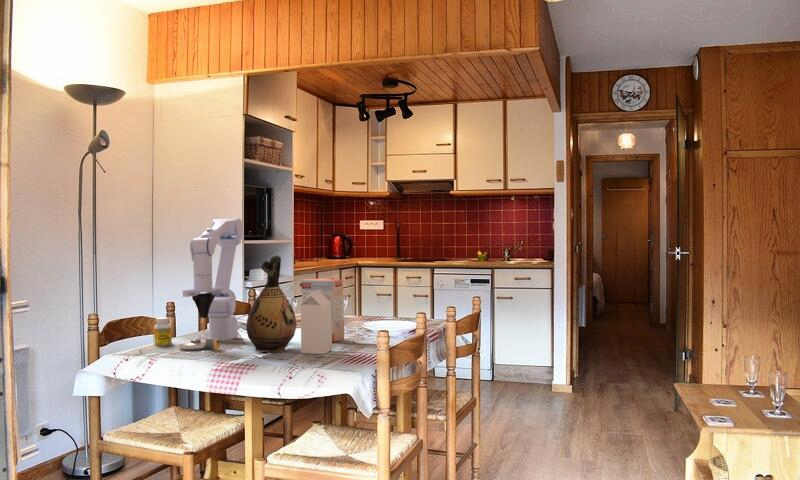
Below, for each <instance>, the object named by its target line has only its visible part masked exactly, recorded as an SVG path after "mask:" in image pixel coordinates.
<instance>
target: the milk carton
mask: <svg viewBox="0 0 800 480" xmlns="http://www.w3.org/2000/svg"><path fill="white" fill-rule="evenodd" d="M300 338H301V339H300V340H301V342H300V343H301V344H300V345H301V348H300V349H301V350H300V351H301V354H307V355H308V354H309V355H310V354H311V355H324V354H327V353H329V352H331V351H333V342H332V325H331V302H330V301H329V300H328V299H326V298H325V297H324V296H323V295H322V294H321V290H318V291H313V292H310V295H308V296H307V297H306V300H305V301H304V302H303V303H302V302H301V304H300Z"/></svg>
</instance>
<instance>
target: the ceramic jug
mask: <svg viewBox="0 0 800 480" xmlns="http://www.w3.org/2000/svg"><path fill="white" fill-rule="evenodd" d="M281 261H282V258H281V256H279V255H273V256H271V257H270V259H269V260H266V261H263V263H262V264H261V270H262V271H263V272H264V273H265V274H267V277H266V278H267V282H266V284H265V285H264V287H263V289H261V292H260V293H259V294H258V296H257V297H256V299H255V301H254V302H253V303H252V306H251V307H250V309H249V312H248V315H247V319H246V325H245V327H246V334H247V337H248V340H249V341H250V342H251V343H252V345H253V346H254V347H255V349H256V350H257V351H262V352H260V354H276V353H277V354H279V353H282V352H284V351H285V350H286V348H287V347H288V344H289V343H290V342H291V340H292V339H293V338H294V336H295V333H296V330H297V320H296V314H295V311H294V307H292V303H291V302H290V301H289V299H288V297H287V296H286V294H285V293H284V291H283V290H282V288H281V285H279V278H280V273H281V272H280V271H281V263H282V262H281Z"/></svg>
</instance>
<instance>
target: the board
mask: <svg viewBox="0 0 800 480" xmlns="http://www.w3.org/2000/svg"><path fill="white" fill-rule="evenodd" d="M240 346H241V344H235V343H223V342H220V349H219V350H212V349H204V350H194V351H185V350H180V349H179V344H176V345H171V346H166V347H161V348H157V349H153V350H150V352H153V353H159V354H160V353H161V354H168V355H169V354H170V355H172V354H173V355H178V356H179V355H181V356H188V357H199V356H202V355H206V354H211V353H215V352H218V351H223V350H227V349H230V348H231V349H232V348H235V347H240Z"/></svg>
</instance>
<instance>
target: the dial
mask: <svg viewBox="0 0 800 480" xmlns="http://www.w3.org/2000/svg"><path fill="white" fill-rule="evenodd" d="M220 343H221V341H220V339H209V338H206V339H202V340H201V339H200V338H198V339H196V338H195V339H190V340H188V341H183V342H180V343H179V344H178V345H179V349H180V350H185V351H194V350H204V349H212V350H219V349H220ZM219 351H220V350H219Z"/></svg>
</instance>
